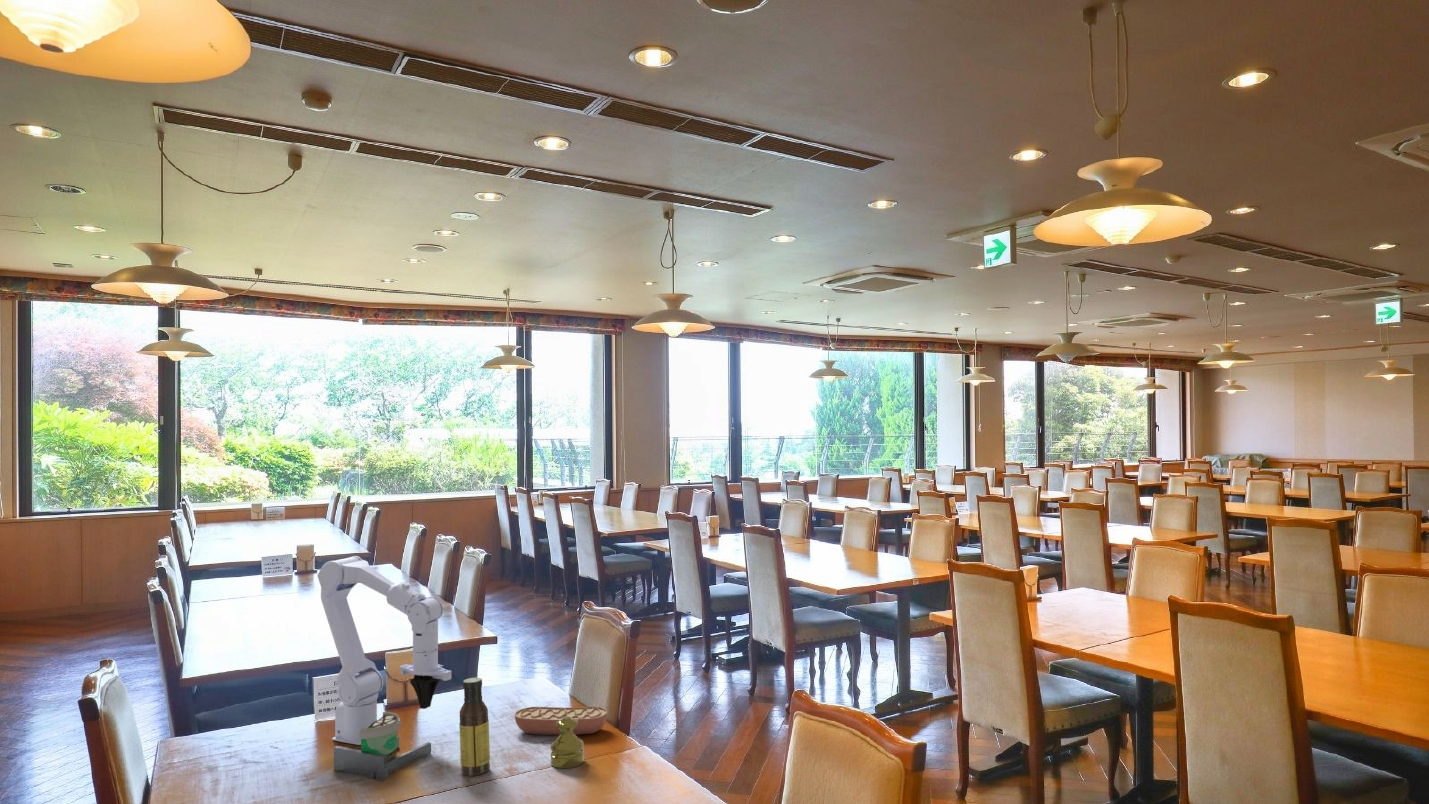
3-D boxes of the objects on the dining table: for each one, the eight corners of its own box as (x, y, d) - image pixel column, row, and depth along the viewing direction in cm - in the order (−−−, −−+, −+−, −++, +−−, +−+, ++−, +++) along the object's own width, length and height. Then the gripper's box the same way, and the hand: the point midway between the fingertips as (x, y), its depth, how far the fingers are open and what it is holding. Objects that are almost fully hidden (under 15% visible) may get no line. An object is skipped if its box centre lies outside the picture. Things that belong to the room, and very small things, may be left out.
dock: (333, 770, 188) (333, 747, 188) (389, 745, 203) (389, 724, 203) (383, 781, 182) (383, 757, 182) (437, 755, 196) (437, 733, 197)
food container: (387, 776, 185) (387, 729, 185) (359, 776, 185) (359, 729, 185) (410, 754, 197) (410, 711, 197) (384, 754, 197) (384, 711, 197)
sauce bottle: (490, 764, 190) (490, 674, 191) (489, 775, 184) (488, 682, 185) (460, 767, 189) (460, 676, 190) (458, 778, 183) (458, 684, 184)
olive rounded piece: (589, 758, 193) (589, 713, 193) (573, 771, 186) (573, 724, 186) (560, 755, 195) (560, 711, 196) (544, 767, 188) (543, 721, 189)
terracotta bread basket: (610, 726, 214) (610, 706, 214) (602, 740, 204) (602, 719, 205) (521, 726, 216) (520, 706, 216) (509, 740, 206) (509, 719, 206)
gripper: (460, 649, 205) (460, 706, 204) (415, 643, 211) (415, 698, 210) (439, 656, 198) (439, 715, 198) (393, 649, 204) (393, 707, 204)
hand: (425, 707), depth 204 cm, fingers closed
